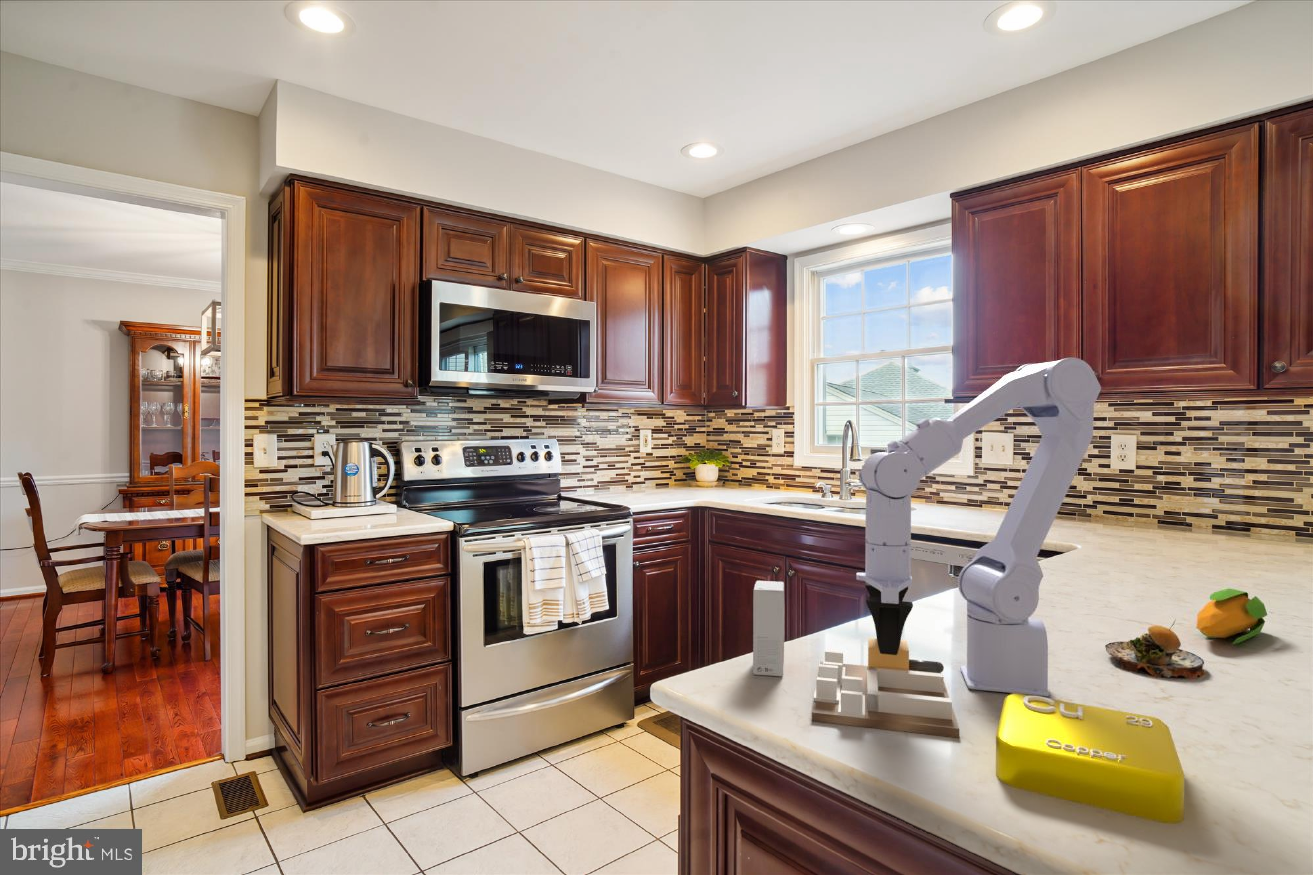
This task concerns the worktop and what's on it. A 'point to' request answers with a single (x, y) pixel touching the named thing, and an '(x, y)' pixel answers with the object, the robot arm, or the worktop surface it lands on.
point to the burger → (1157, 654)
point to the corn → (1231, 615)
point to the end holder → (907, 702)
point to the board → (886, 720)
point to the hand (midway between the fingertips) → (887, 644)
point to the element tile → (1090, 756)
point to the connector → (899, 659)
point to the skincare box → (768, 628)
